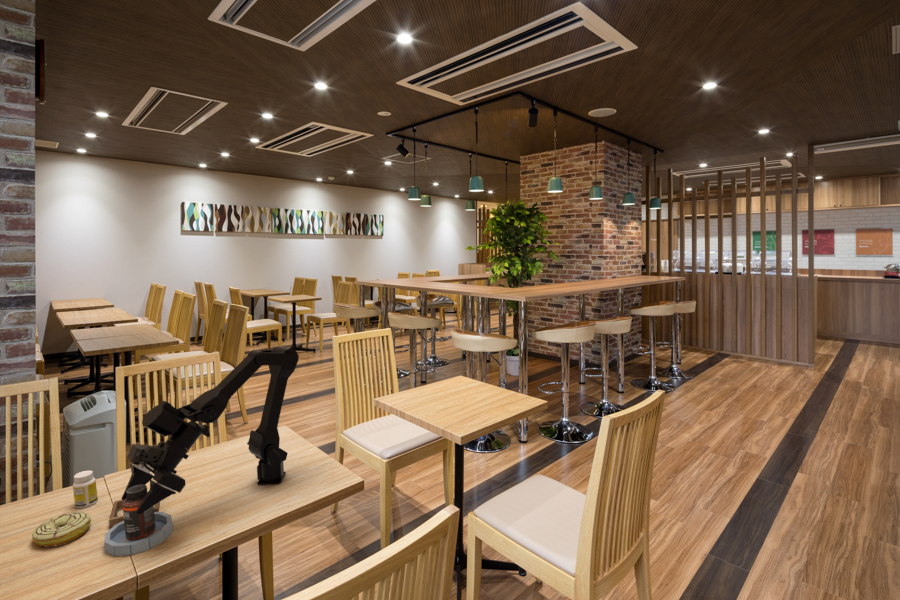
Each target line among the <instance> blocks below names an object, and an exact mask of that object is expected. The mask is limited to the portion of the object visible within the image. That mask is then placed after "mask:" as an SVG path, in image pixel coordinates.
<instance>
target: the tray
mask: <svg viewBox="0 0 900 600" xmlns="http://www.w3.org/2000/svg"><path fill="white" fill-rule="evenodd" d="M123 501H124V500H122V499H121V498H120V499H118V500H117V499H116V500H114V501H113V505H112V508H111V511H110V515H109V519H108V524H109V525H108V526H109V530H110V529H111V528H112V527H113V526H114V525H116V524H118V523H120V522H122V521H124V516H123V514H122V515H120V516H118V513H119V510H123V507H122V504H123ZM160 502H161V501H160ZM160 502H158V503H157V504H155V505H154V512H160Z"/></svg>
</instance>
